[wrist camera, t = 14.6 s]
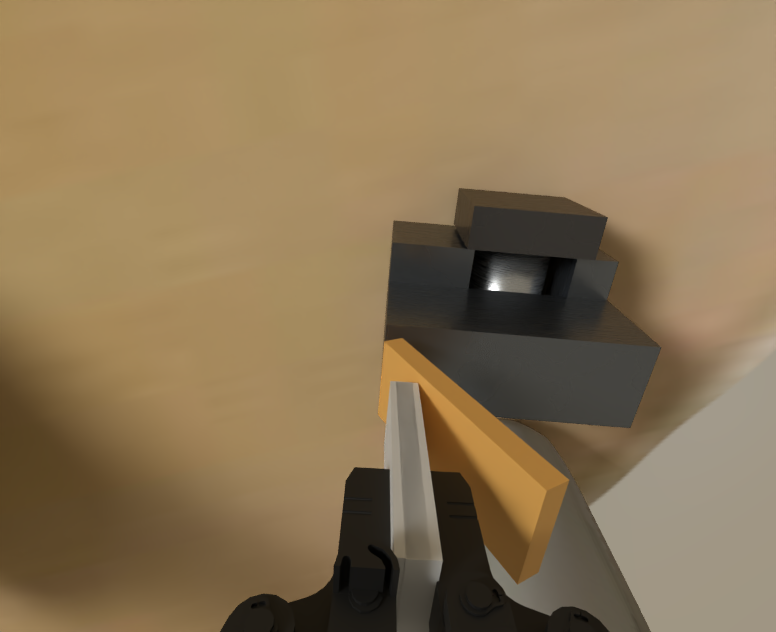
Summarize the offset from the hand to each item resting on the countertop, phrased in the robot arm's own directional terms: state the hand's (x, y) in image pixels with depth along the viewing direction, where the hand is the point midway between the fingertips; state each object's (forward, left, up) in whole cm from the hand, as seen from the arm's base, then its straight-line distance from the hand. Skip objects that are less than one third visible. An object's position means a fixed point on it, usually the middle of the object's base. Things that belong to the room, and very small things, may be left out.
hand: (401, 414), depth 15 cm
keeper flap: (+2, 0, +1) cm, 2 cm away
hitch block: (+5, +1, -13) cm, 14 cm away
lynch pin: (+6, +1, -13) cm, 14 cm away
